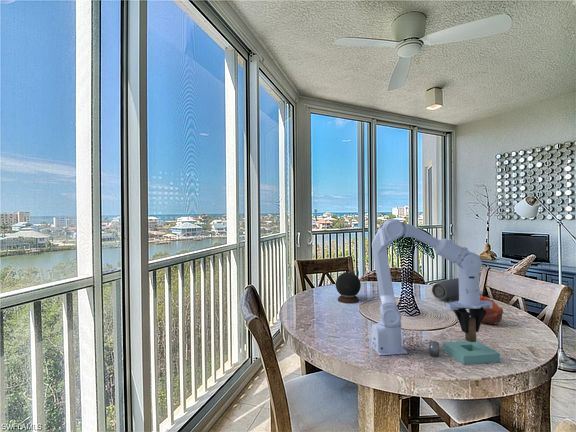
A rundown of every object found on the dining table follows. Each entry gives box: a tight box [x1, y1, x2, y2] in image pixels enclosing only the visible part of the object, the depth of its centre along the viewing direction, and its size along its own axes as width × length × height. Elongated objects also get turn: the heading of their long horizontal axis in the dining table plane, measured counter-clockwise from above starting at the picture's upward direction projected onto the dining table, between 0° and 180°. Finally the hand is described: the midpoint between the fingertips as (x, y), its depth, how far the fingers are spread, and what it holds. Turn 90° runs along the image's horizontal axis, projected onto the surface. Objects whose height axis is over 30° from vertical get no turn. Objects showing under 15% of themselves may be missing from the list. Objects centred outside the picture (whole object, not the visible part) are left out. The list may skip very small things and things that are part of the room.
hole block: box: [442, 339, 501, 365], centre depth 97 cm, size 12×10×2 cm
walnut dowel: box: [464, 316, 477, 342], centre depth 96 cm, size 3×3×7 cm
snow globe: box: [335, 271, 362, 305], centre depth 161 cm, size 13×13×15 cm
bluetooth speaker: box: [431, 277, 459, 301], centre depth 161 cm, size 23×9×10 cm, turn 120°
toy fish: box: [468, 295, 504, 325], centre depth 124 cm, size 12×10×11 cm
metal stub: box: [428, 340, 440, 358], centre depth 98 cm, size 3×3×4 cm
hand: (469, 331), depth 97 cm, fingers closed on walnut dowel, 3 cm apart
